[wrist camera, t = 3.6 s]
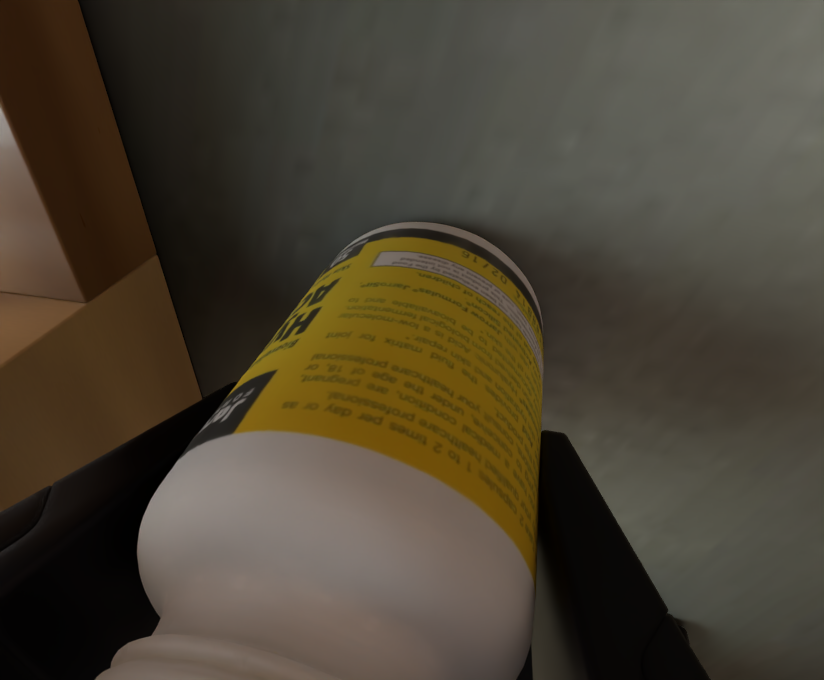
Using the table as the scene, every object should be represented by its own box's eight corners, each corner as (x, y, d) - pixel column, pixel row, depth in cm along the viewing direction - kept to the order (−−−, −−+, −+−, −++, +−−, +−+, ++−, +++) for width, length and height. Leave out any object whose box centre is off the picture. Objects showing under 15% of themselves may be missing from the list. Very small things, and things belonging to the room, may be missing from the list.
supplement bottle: (351, 173, 11) (-193, 719, 3) (588, 272, 11) (700, 1057, 3) (303, 357, 14) (-11, 845, 6) (485, 431, 14) (407, 1002, 6)
